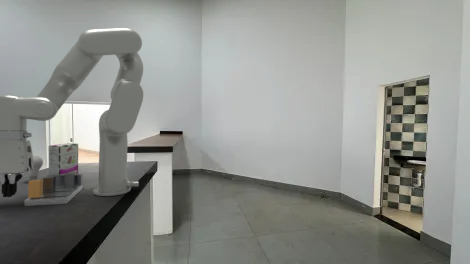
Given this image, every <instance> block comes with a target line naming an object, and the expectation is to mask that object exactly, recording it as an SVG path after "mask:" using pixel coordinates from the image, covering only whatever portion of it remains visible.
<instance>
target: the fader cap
mask: <svg viewBox="0 0 470 264" xmlns="http://www.w3.org/2000/svg"><path fill="white" fill-rule="evenodd" d="M27 187H28V189H27V191H28V193H27V198H38V197H41V196H42V195H43V178H42V179H41V178H40V179H38V178H37V179H32V180H30V179H29V180H28V186H27Z"/></svg>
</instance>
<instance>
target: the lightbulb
mask: <svg viewBox="0 0 470 264" xmlns="http://www.w3.org/2000/svg"><path fill="white" fill-rule="evenodd" d="M43 165H44V160H43V158H42V157H40V156H37V155H33V169H32V170H31V172H32V175H30V176H28V178H29V181H30V180H32V179H38V177H39V174H40V170H41V168H42V167H43Z"/></svg>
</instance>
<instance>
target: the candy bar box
mask: <svg viewBox="0 0 470 264" xmlns="http://www.w3.org/2000/svg"><path fill="white" fill-rule="evenodd" d="M66 173H75V174H79V143H77V142H75V143H74V142H68V143H67V142H66V143H60V144H52V145H51V144H50V145H48V175H54V174H66Z"/></svg>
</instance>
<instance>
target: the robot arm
mask: <svg viewBox="0 0 470 264" xmlns="http://www.w3.org/2000/svg"><path fill="white" fill-rule="evenodd" d="M142 46H143V41H142V38H141V35H140V34H138V32H137V31H135V30H133V29H131V28H127V27H126V28H125V27H124V28H123V27H122V28H98V29H96V28H95V29H88V30H85V31H83V32H82V33H81V34H80V35H79V37H78V39H77V41H76V42H75V43H74V45H73V46H72V48H71V49H70V50H69V51H68V52H67V54H66V55H65V56H63V59H61V61H60V62H59V63H58V64H57V65H56V67H55V68H54V70H53V71H52V74H51V77H50V78H49V80H48V81H47V83H46V84H45V86H44V87H43V88H42V89H41V91H40V92H39V93H38V94H37V96H32V97H30V96H28V97H27V96H26V97H25V96H19V95H18V96H17V95H12V94H11V95H9V94H8V95H6V94H0V185H1V194H2V198H11V197H13V196H15V195H16V193H17V191H18V182H19V181H20V180H21V179H22V178H27V177H29V176H30V175H32V172H31V170H32V169H33V156H34V155H33V149H32V148H33V147H32V145H31V141H30V140H27V139H28V138H31V137H32V136H33V134H32V133H31V132H28V130H27V128H28V127H27V125H28V124H27V121H28V120H32V121H38V122H40V121H41V122H45V121H46V122H47V121H49V120H52V119H53V118H55V116H56V115H57V113H58V112H59V111H60V109H61V108H62V106H63V105H64V104H65V102H67V100H68V99H70V96H71V95H72V94H73V93H74V92H75V91H76V90H77V89H79V87H80V86H81V85H82V84H83V83H84V82H85V80H86V79H87V77H88V76H90V73H91V72H92V71H93V70H94V68H95V67H96V66H97V65H98V63H99V62H100V61H101V60H102V58H103V57H104V56H113V55H114V56H116V59H117V60H118V61H119V68H118V72H117V75H116V78H115V80H114V83H113V86H112V87H111V89H110V90H111V91H110V99H111V102H110V105H109V108H108V109H107V110H105V111H104V112H103V113H101V115H100V117H99V119H98V120H99V121H98V135H99V136H98V137H99V146H98V147H99V148H98V149H99V151H98V185H97V187H95V188H94V189H93V190H92V192H93V194H94V195H95V196H100V197H112V196H120V195H125V194H127V193H129V192H130V191H131V187H134V188H135V187H139V184H140V182H139V181H138V180H137V181H136V180H129V177H127V172H128V168H127V166H128V148H129V147H128V134H129V133H130V132H131V131H132V130H133V129H134V127H135V124H136V122H137V119H138V116H139V113H140V110H141V107H142V105H143V104H142V103H143V101H144V90H143V89H144V88H143V87H142V86H141V82H142V78H143V74H144V64H143V61H142V58H141V56H140V54H139V51H140V50H141V48H142ZM9 174H10V175H9Z"/></svg>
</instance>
